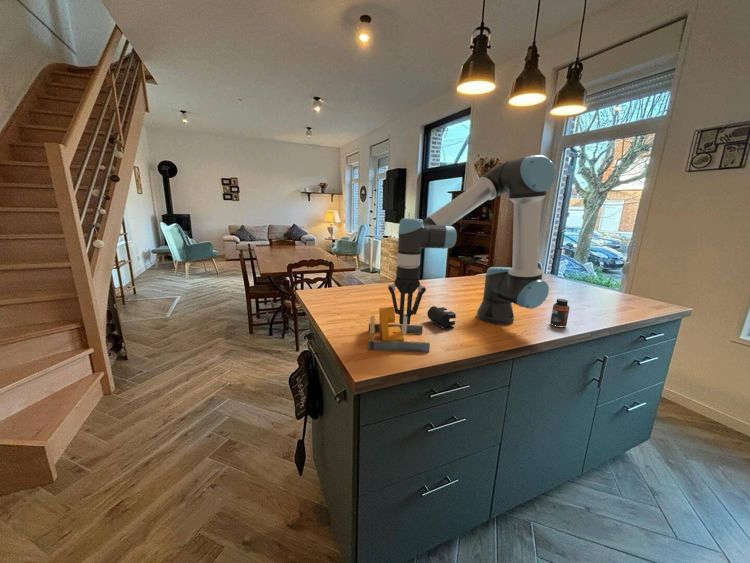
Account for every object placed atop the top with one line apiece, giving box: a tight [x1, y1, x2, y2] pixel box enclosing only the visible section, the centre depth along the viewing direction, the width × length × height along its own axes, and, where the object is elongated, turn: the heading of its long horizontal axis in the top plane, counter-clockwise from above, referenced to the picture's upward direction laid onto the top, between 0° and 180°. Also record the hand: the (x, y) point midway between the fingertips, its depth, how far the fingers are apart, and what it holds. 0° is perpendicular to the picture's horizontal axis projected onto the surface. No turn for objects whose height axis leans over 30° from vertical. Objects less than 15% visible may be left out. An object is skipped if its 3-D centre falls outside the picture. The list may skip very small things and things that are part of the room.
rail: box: [367, 315, 431, 353], centre depth 105 cm, size 20×16×6 cm
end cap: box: [426, 305, 457, 330], centre depth 122 cm, size 10×7×7 cm
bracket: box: [378, 306, 405, 342], centre depth 104 cm, size 11×7×12 cm, turn 5°
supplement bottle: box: [549, 298, 570, 327], centre depth 126 cm, size 6×6×11 cm
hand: (403, 332), depth 105 cm, fingers closed
